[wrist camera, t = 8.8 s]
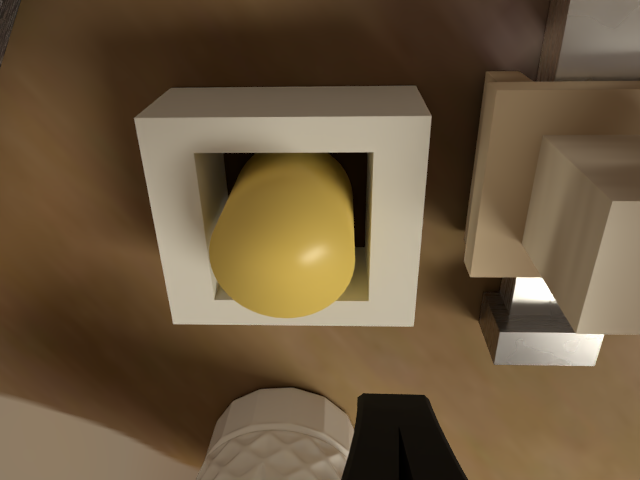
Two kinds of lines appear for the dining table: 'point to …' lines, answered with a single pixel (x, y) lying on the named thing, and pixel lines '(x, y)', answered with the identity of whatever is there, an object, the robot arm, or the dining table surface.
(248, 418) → the white cup
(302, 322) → the frame
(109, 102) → the dining table surface
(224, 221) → the cylinder
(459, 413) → the dining table surface
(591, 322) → the carriage
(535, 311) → the gray block handle
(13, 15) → the picture frame
